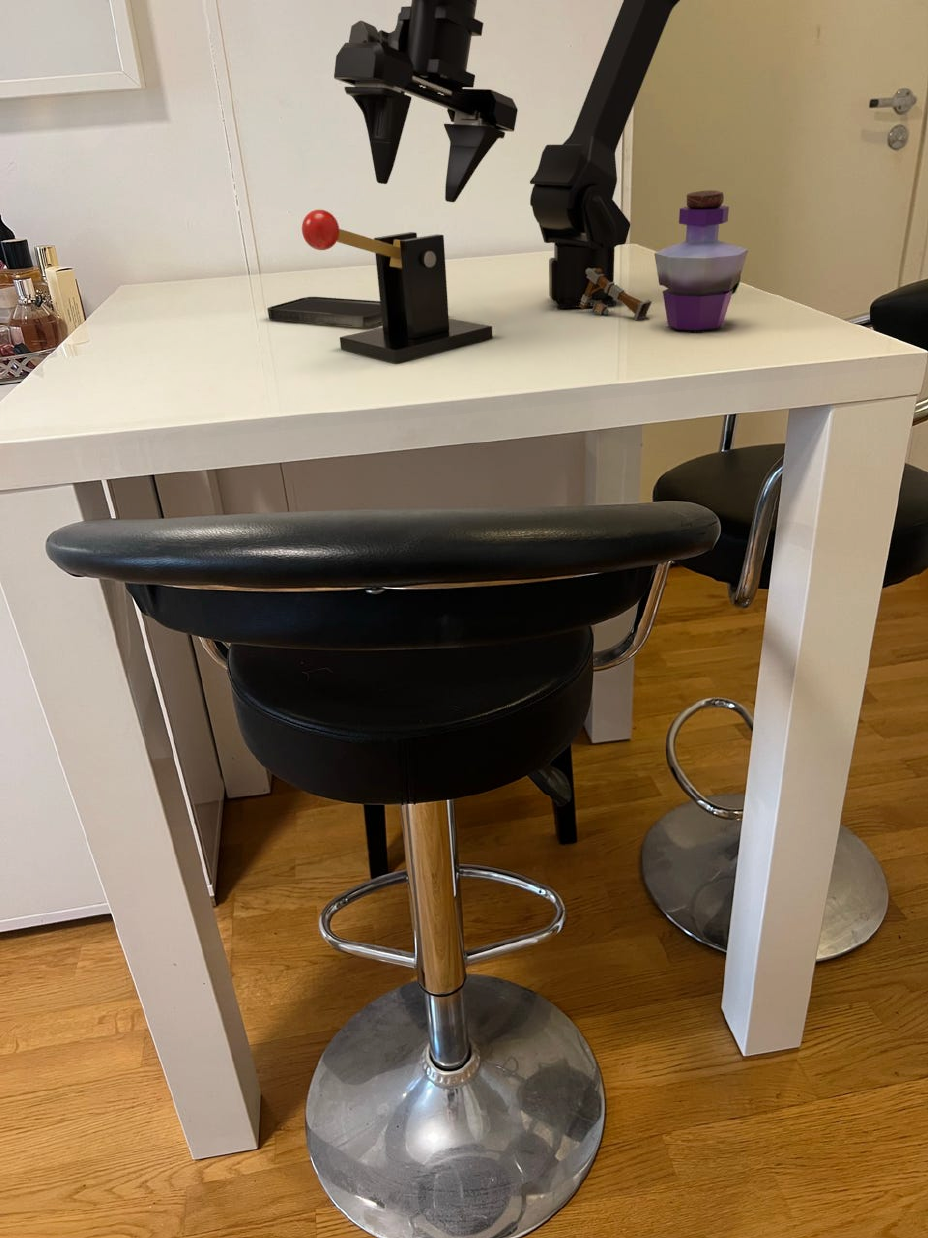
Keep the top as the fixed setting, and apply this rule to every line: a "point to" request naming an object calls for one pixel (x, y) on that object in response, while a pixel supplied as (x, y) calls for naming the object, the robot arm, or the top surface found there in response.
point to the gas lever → (344, 237)
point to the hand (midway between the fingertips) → (417, 192)
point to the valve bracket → (414, 306)
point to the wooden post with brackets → (615, 291)
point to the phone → (329, 311)
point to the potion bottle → (700, 267)
